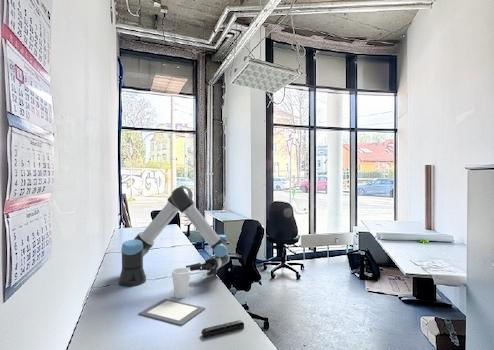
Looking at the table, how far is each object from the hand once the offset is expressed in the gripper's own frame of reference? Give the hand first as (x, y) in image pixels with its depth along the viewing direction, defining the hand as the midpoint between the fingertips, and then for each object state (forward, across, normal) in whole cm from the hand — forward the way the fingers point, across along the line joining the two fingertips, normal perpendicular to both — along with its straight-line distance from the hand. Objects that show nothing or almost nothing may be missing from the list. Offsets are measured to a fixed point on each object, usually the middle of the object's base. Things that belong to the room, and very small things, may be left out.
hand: (192, 274), depth 175 cm
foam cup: (+10, 0, -8) cm, 13 cm away
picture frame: (+27, -8, -8) cm, 29 cm away
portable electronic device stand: (+33, -38, -9) cm, 51 cm away
